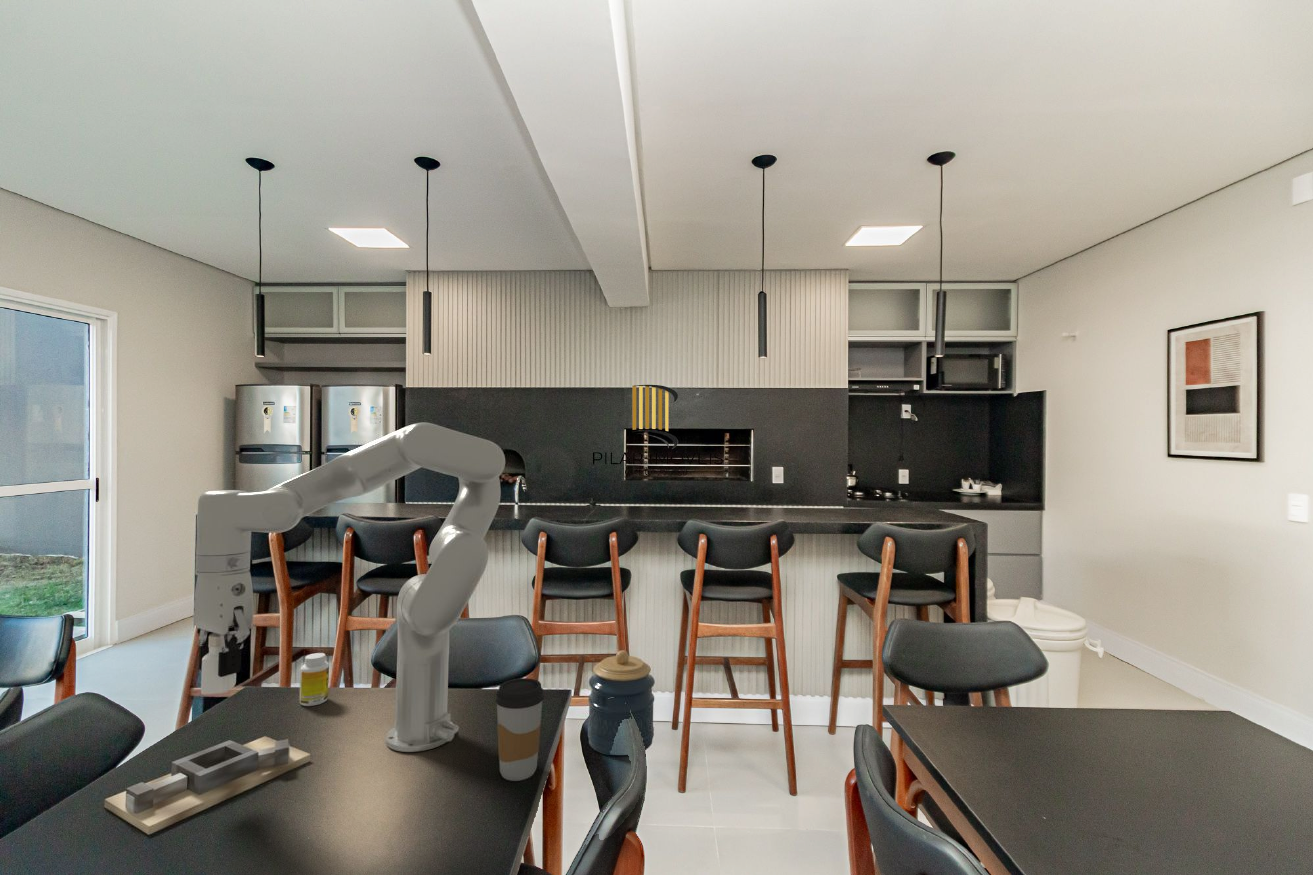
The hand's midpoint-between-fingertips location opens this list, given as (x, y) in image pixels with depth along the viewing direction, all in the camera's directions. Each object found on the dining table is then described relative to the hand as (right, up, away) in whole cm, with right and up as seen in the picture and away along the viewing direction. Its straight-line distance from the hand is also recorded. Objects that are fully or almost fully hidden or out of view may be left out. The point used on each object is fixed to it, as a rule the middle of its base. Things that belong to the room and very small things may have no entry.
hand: (219, 669), depth 101 cm
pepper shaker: (0, -4, 0) cm, 4 cm away
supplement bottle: (-2, -20, +32) cm, 38 cm away
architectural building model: (0, -19, -1) cm, 19 cm away
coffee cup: (+50, -20, +4) cm, 54 cm away
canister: (+67, -21, +16) cm, 72 cm away
